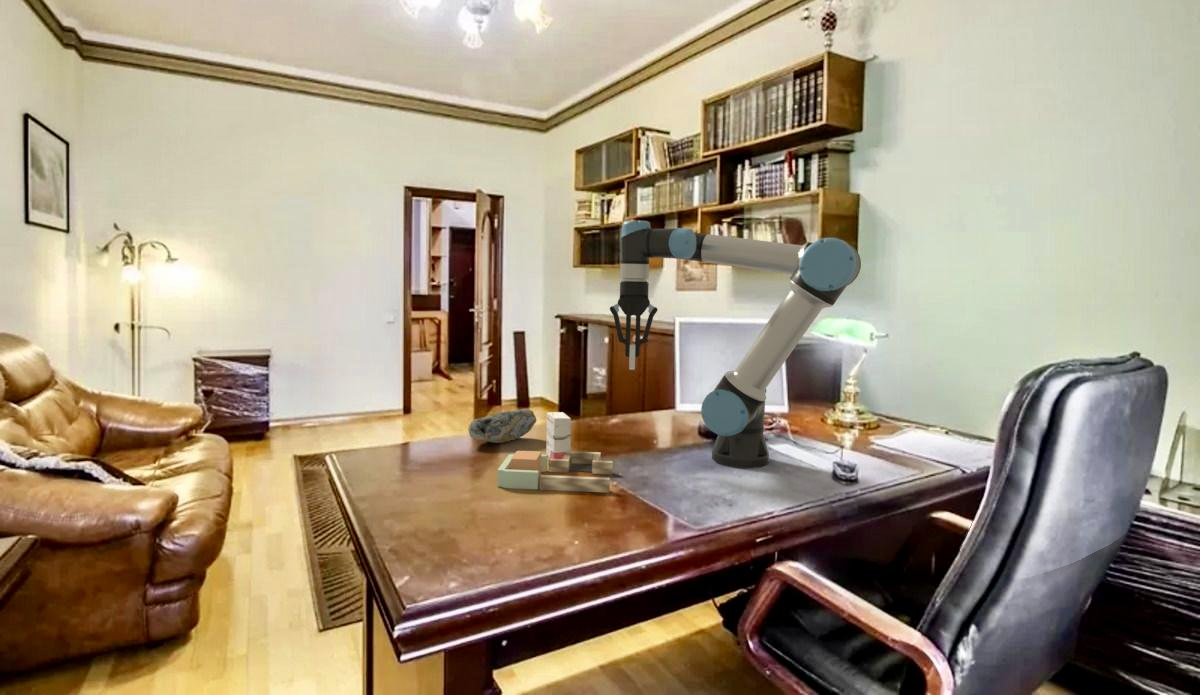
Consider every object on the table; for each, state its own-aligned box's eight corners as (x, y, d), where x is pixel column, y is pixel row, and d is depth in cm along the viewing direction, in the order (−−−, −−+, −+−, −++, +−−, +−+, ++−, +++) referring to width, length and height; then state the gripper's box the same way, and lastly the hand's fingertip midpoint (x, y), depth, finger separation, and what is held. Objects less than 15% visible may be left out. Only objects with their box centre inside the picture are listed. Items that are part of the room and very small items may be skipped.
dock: (547, 470, 164) (547, 454, 164) (537, 489, 149) (537, 472, 149) (510, 468, 165) (510, 453, 164) (496, 487, 150) (496, 470, 149)
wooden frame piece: (613, 464, 170) (614, 452, 170) (609, 492, 148) (609, 479, 148) (553, 461, 171) (553, 450, 171) (539, 489, 149) (539, 476, 149)
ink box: (571, 461, 172) (572, 417, 171) (553, 463, 170) (554, 418, 169) (562, 452, 180) (563, 411, 179) (545, 454, 179) (546, 411, 177)
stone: (461, 442, 189) (461, 408, 188) (529, 434, 200) (529, 402, 198) (473, 451, 180) (473, 416, 178) (543, 443, 190) (544, 409, 189)
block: (540, 475, 160) (541, 451, 159) (536, 484, 153) (536, 459, 152) (516, 474, 160) (517, 450, 160) (511, 483, 154) (511, 458, 153)
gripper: (658, 280, 174) (656, 367, 177) (610, 279, 175) (608, 366, 178) (659, 281, 167) (656, 371, 170) (608, 280, 168) (606, 370, 171)
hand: (632, 368), depth 174 cm, fingers closed
